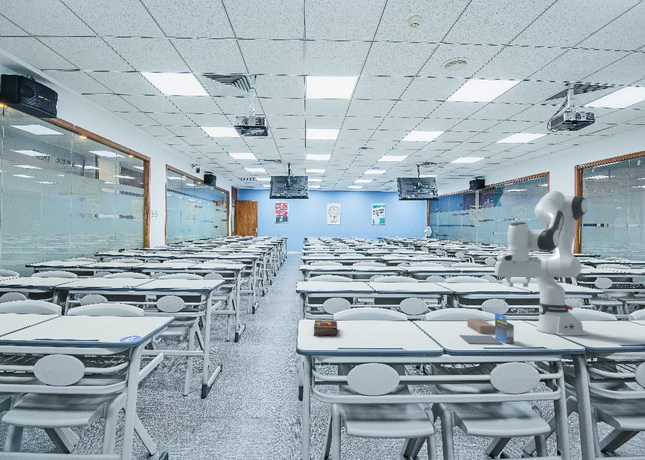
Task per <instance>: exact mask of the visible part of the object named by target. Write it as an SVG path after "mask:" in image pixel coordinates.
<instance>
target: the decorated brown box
mask: <svg viewBox="0 0 645 460" xmlns="http://www.w3.org/2000/svg"><path fill="white" fill-rule="evenodd" d="M337 335H338V322H337V320H321V319H319V320H318V319H317V320H316V319H315V320H314V323H313V336H314V337H319V336H320V337H322V336H326V337H327V336H328V337H329V336H333V337H335V336H337Z"/></svg>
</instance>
